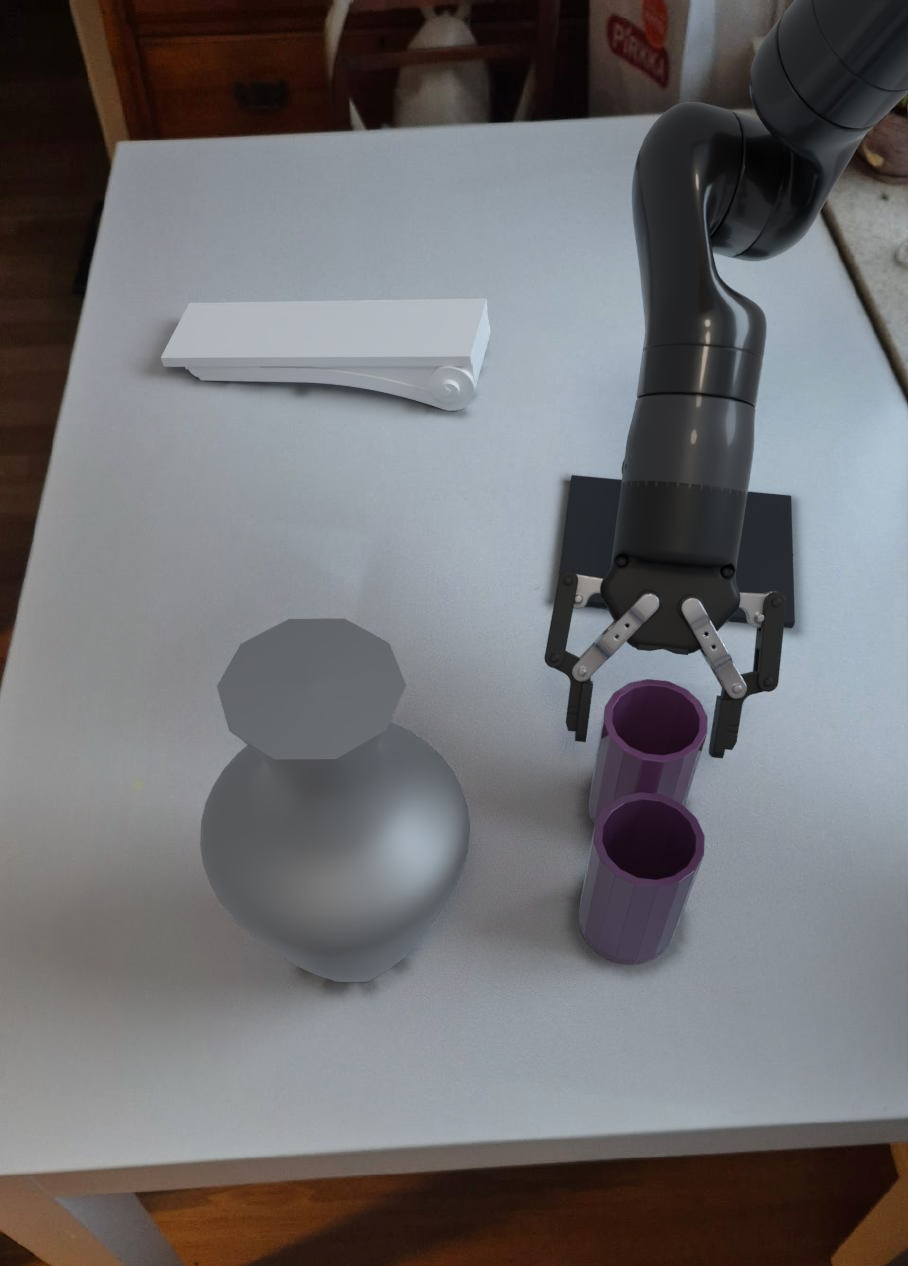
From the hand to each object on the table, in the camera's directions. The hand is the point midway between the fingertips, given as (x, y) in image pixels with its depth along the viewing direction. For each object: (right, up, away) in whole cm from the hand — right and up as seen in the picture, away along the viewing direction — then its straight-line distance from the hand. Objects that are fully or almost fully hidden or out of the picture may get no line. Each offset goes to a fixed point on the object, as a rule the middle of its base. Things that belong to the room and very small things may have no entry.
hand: (647, 748), depth 72 cm
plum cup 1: (0, -4, +5) cm, 7 cm away
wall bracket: (-24, +36, +31) cm, 53 cm away
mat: (+5, +17, +19) cm, 26 cm away
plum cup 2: (-1, -11, +1) cm, 11 cm away
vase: (-19, -12, 0) cm, 22 cm away
